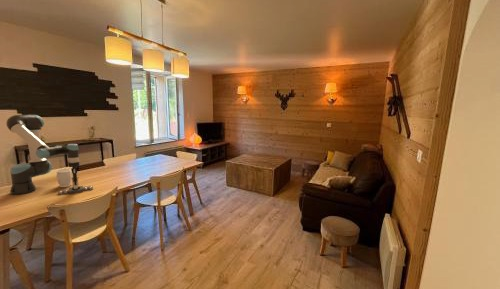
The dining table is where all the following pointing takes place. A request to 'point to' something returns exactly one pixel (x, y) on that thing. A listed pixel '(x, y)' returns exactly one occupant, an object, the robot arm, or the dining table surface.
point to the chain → (75, 190)
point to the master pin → (73, 184)
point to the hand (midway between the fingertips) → (75, 187)
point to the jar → (64, 177)
